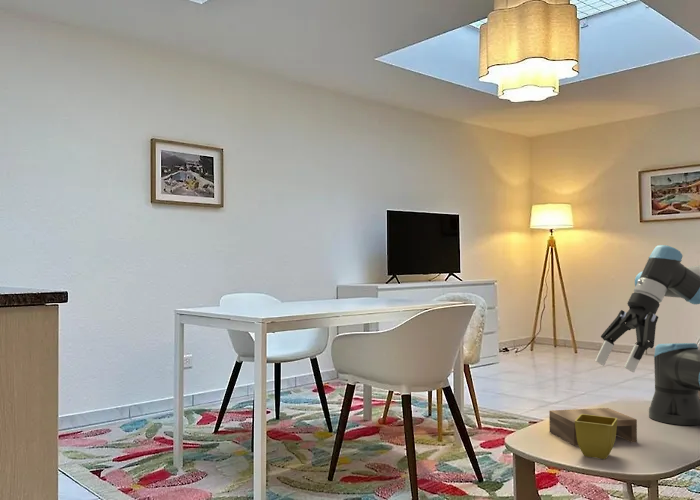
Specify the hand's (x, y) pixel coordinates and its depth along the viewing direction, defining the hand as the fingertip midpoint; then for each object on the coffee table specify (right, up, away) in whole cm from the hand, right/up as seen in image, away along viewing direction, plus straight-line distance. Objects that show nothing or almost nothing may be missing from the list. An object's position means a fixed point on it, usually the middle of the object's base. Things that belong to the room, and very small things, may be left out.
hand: (613, 366), depth 167 cm
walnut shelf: (-6, -19, +1) cm, 20 cm away
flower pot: (-11, -19, -15) cm, 27 cm away
